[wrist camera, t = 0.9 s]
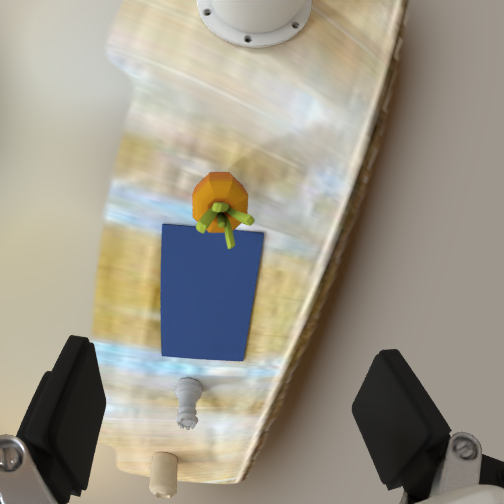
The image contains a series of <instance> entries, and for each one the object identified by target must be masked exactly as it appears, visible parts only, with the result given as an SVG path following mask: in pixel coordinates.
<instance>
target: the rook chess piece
mask: <svg viewBox="0 0 504 504" xmlns="http://www.w3.org/2000/svg"><path fill="white" fill-rule="evenodd" d="M174 388H175V390H174V392H175V396H176V397H177V399H178V400H179V409H178V414H179V415H177V416H176V421H177V422H178V426H180V428H182V429H183V428H184V427H186V430H189V429H190V427H191V428H192V429H193V428H194V427H195V424H196V423H197V422H198V418H197V417H196V416H195V415H196V413H197V412H196V410H195V407H196V402H197V401H198V399H199V398H200V396H201V394H202V393H201V391H202V386H201V385H200V383H199V382H198V381H196V380H194V379H191V378H183V379H180V380H179V381H177V382H176V383H175V385H174Z"/></svg>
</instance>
